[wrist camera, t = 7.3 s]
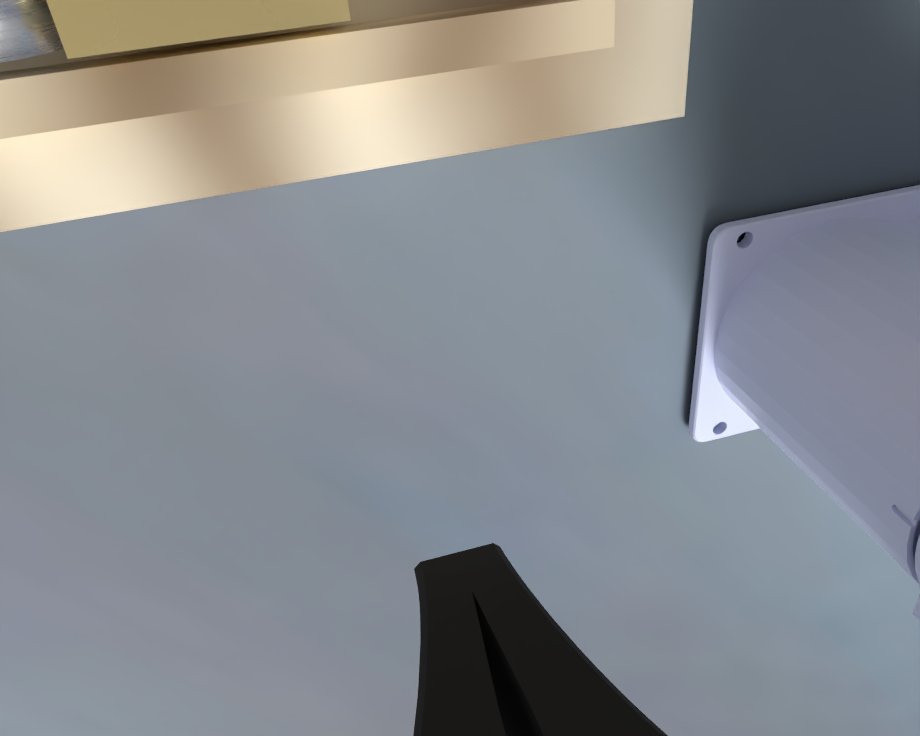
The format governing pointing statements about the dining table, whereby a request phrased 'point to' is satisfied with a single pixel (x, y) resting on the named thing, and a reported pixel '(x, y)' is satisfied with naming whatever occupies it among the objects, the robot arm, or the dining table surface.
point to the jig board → (328, 99)
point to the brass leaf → (179, 21)
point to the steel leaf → (26, 30)
